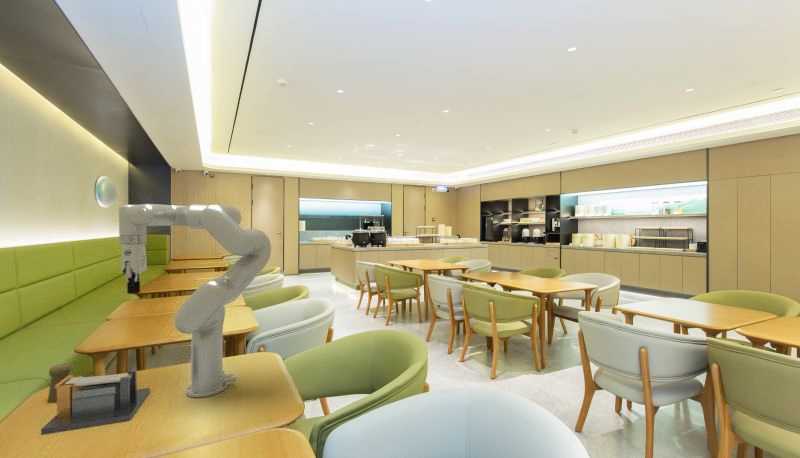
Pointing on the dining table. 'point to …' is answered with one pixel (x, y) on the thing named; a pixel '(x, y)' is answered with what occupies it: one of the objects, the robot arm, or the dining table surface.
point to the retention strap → (96, 379)
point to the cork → (57, 379)
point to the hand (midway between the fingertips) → (133, 292)
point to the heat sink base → (105, 418)
